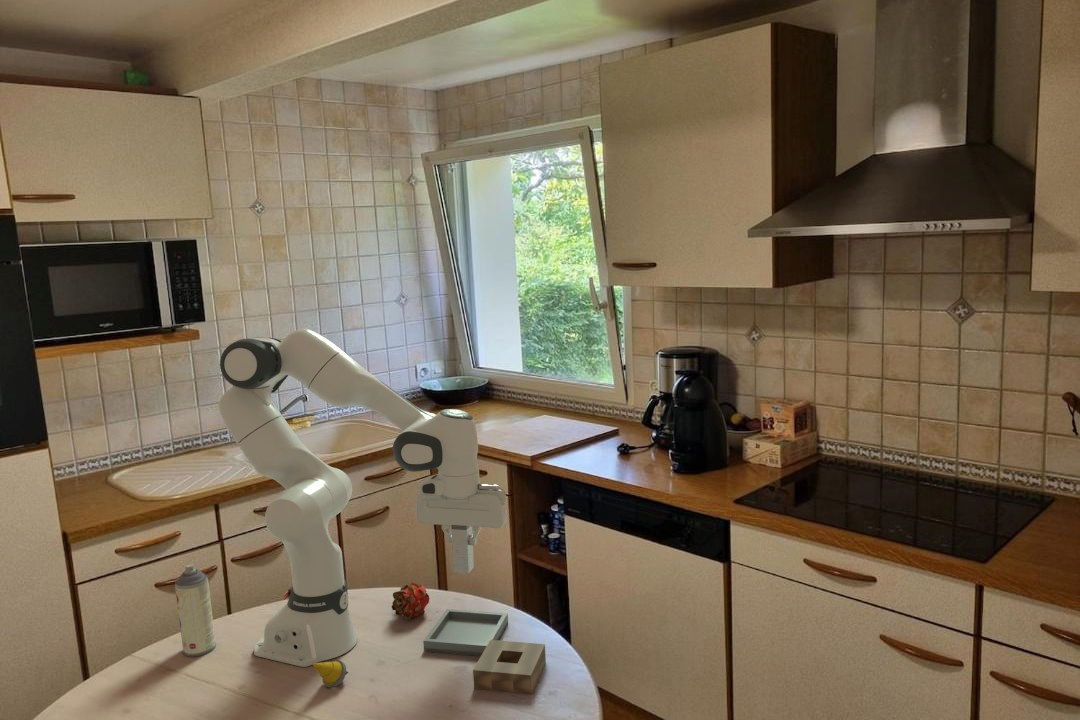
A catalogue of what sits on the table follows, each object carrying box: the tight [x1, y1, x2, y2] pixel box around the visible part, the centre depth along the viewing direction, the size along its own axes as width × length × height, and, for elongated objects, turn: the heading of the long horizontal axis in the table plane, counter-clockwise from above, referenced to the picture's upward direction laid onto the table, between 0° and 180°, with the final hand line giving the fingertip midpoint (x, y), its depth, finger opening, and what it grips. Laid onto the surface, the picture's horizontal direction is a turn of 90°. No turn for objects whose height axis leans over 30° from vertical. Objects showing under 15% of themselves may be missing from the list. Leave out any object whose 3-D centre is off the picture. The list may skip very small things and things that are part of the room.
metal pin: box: [450, 525, 475, 574], centre depth 175 cm, size 4×4×11 cm
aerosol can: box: [174, 563, 217, 658], centre depth 178 cm, size 7×7×20 cm
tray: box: [422, 608, 509, 657], centre depth 180 cm, size 15×15×2 cm
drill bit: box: [312, 659, 349, 689], centre depth 162 cm, size 5×5×10 cm
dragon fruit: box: [391, 581, 430, 620], centre depth 191 cm, size 8×8×12 cm
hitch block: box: [472, 640, 547, 695], centre depth 163 cm, size 12×12×4 cm
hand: (462, 543), depth 175 cm, fingers closed on metal pin, 3 cm apart
